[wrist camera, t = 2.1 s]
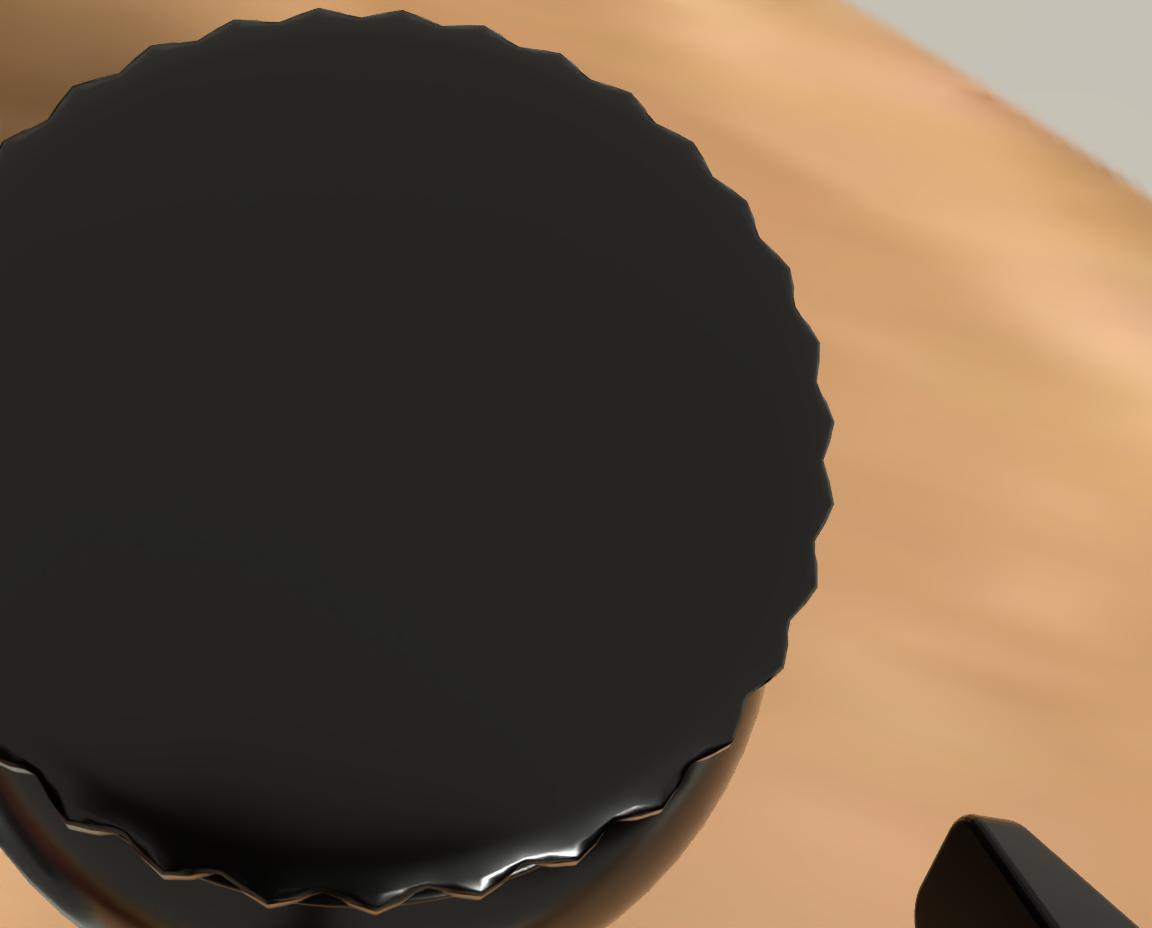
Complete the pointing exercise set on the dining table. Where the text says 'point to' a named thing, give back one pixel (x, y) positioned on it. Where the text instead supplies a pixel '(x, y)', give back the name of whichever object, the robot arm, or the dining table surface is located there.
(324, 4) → the dining table surface
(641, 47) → the dining table surface
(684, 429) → the supplement bottle
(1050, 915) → the robot arm
